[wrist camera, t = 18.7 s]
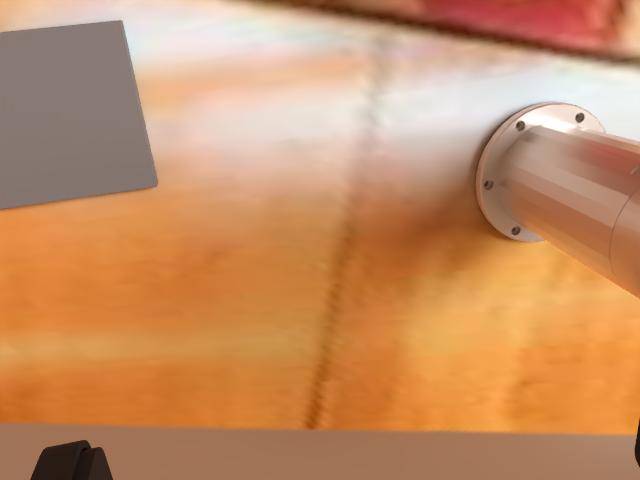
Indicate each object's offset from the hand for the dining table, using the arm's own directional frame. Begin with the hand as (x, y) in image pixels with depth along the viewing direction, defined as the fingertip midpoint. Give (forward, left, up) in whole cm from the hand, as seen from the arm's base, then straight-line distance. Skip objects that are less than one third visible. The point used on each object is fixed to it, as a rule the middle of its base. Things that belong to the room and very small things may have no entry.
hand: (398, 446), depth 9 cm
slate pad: (+14, -2, -36) cm, 39 cm away
